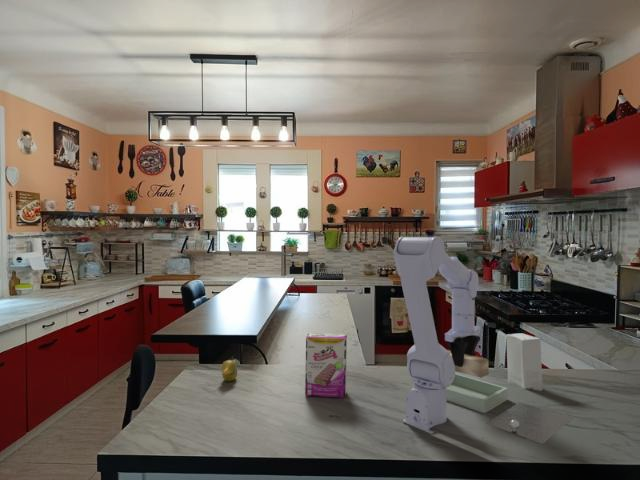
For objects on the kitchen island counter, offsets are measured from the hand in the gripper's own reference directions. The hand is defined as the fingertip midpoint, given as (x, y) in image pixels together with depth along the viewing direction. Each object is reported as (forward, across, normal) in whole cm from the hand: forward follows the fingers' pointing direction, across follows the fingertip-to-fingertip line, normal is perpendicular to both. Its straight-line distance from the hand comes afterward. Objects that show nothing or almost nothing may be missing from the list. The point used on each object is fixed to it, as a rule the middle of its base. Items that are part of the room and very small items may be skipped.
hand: (462, 364), depth 107 cm
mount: (+9, -2, -18) cm, 20 cm away
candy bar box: (+10, -26, +26) cm, 38 cm away
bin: (+9, 0, 0) cm, 9 cm away
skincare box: (+10, +22, -7) cm, 25 cm away
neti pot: (+10, -41, +53) cm, 68 cm away
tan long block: (+2, 0, 0) cm, 2 cm away
